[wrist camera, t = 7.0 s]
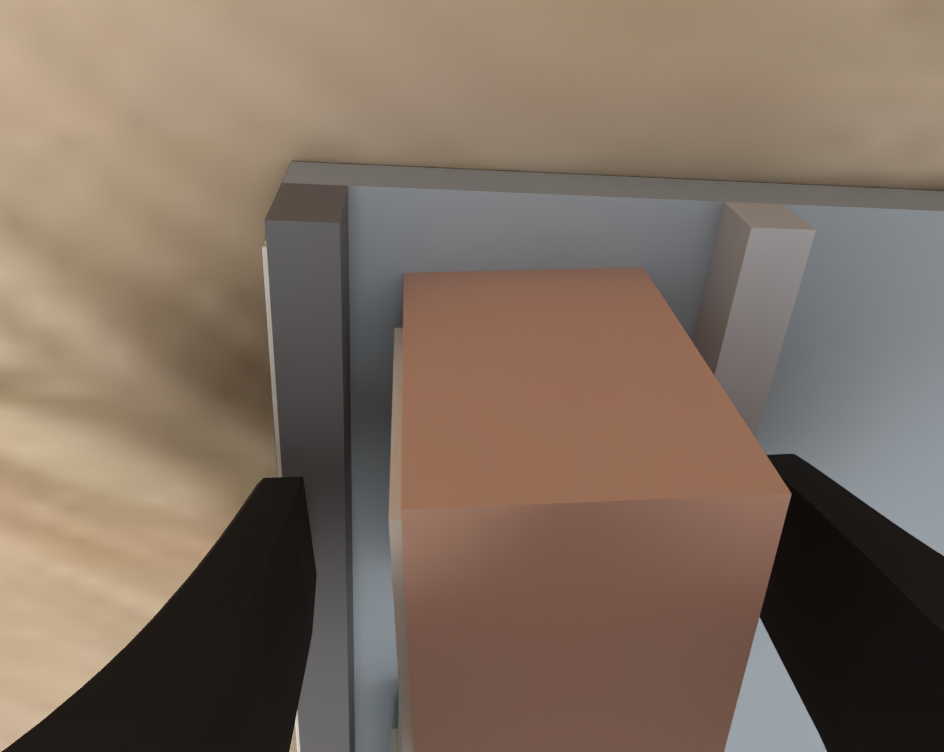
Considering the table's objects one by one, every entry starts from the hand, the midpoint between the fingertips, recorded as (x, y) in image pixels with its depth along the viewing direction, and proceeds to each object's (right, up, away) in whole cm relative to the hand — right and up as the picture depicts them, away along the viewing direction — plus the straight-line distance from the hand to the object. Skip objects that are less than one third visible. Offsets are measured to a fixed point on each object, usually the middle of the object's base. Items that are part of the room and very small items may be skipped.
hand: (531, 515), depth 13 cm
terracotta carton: (0, +1, +2) cm, 2 cm away
